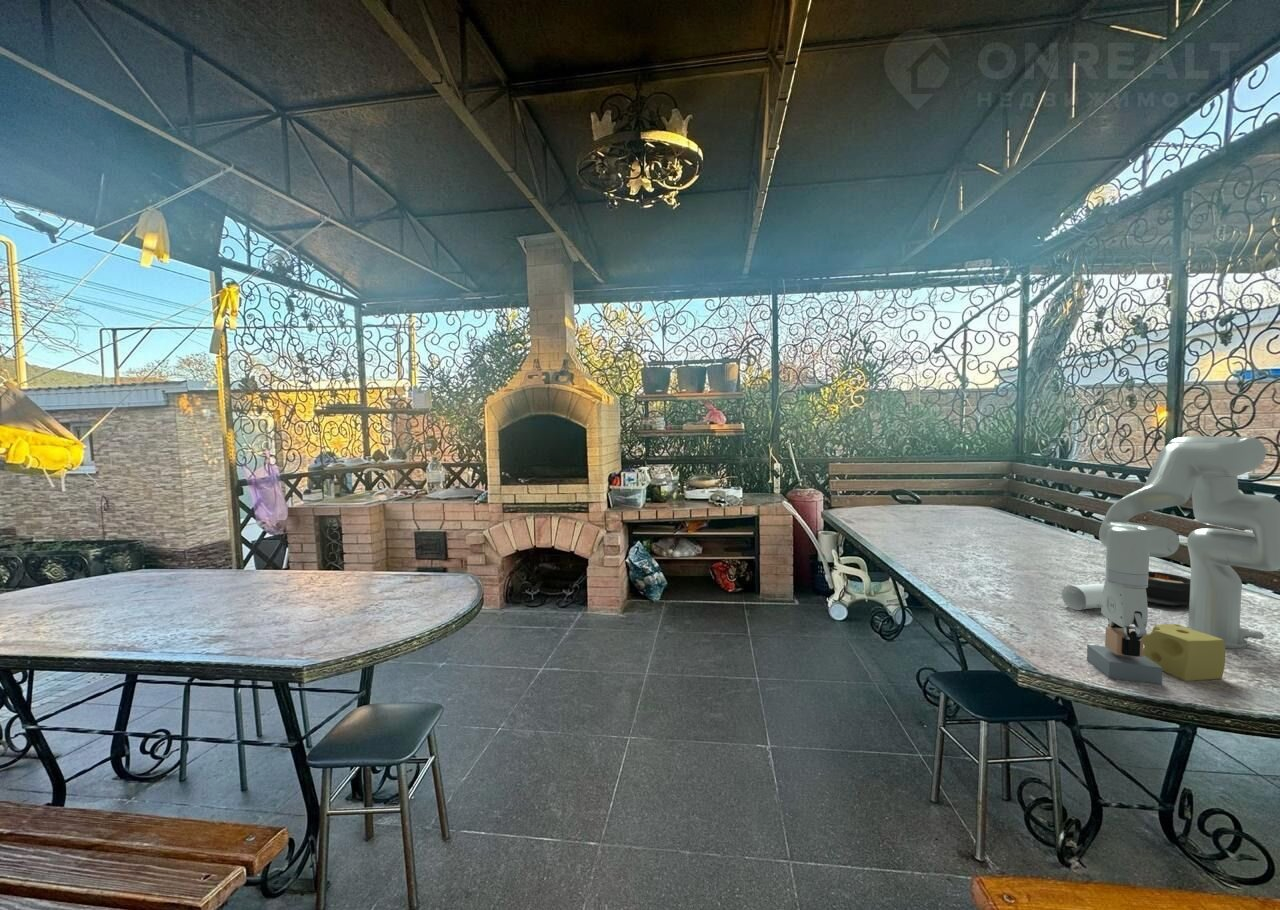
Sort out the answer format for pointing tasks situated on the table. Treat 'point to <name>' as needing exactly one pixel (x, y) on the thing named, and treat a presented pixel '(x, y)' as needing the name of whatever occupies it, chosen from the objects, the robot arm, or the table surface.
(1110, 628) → the cube
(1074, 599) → the white hollow cylinder
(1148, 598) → the casserole
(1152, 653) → the cheese
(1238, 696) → the table surface
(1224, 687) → the table surface
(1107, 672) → the pedestal
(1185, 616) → the table surface
